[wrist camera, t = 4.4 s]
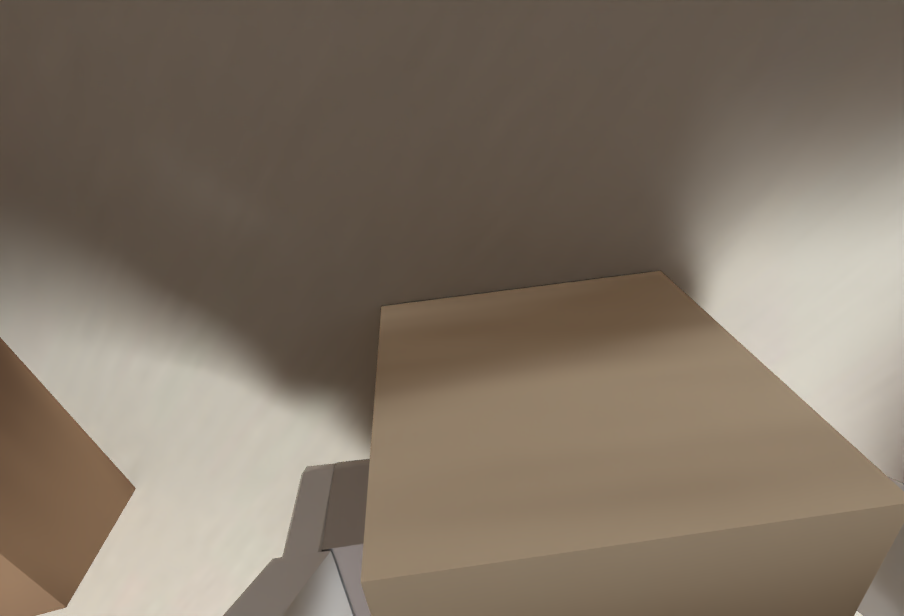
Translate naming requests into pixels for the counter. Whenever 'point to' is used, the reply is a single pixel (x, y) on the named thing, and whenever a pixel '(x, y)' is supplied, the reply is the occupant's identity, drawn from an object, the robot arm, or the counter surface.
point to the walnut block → (48, 495)
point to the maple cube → (605, 465)
